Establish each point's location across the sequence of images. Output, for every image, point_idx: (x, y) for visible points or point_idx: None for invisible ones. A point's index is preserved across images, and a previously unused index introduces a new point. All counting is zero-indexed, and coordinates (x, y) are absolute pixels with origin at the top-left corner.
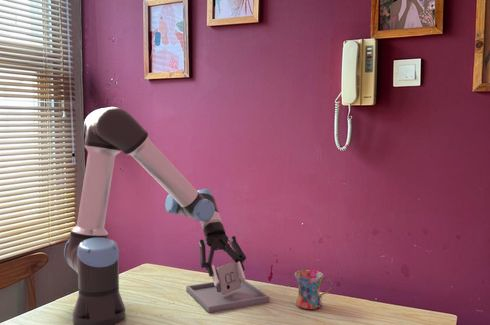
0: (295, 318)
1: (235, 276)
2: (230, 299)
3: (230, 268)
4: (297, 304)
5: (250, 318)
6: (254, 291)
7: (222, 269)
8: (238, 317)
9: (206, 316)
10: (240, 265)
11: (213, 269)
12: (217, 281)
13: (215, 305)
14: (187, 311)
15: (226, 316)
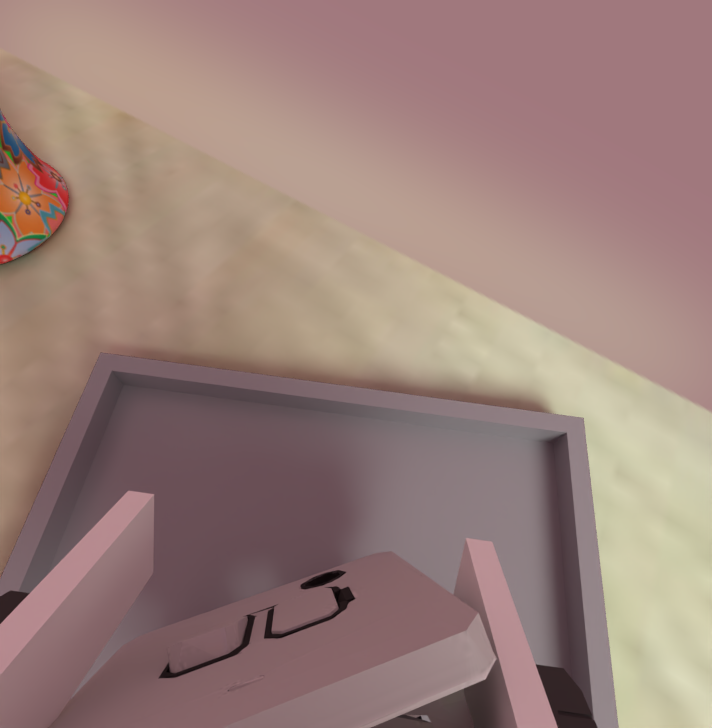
0: (189, 165)
1: (153, 660)
2: (327, 542)
3: (195, 690)
4: (57, 218)
5: (373, 261)
6: (41, 578)
7: (391, 628)
8: (422, 300)
9: (588, 402)
10: (12, 628)
11: (542, 703)
12: (485, 547)
13: (527, 416)
14: (696, 545)
15: (477, 342)
